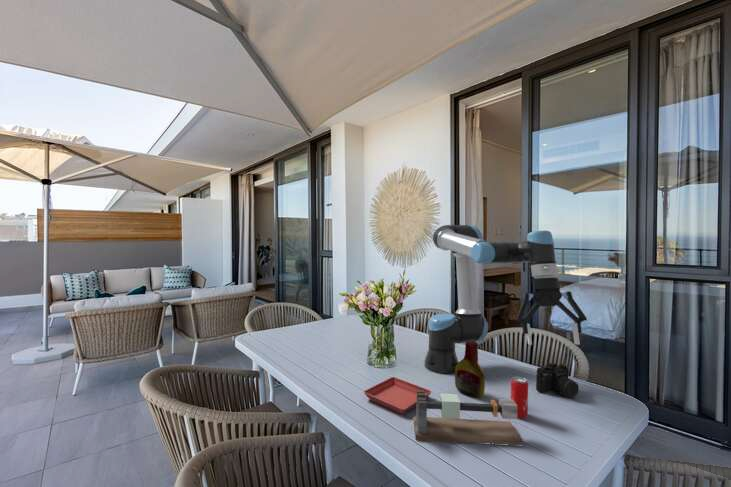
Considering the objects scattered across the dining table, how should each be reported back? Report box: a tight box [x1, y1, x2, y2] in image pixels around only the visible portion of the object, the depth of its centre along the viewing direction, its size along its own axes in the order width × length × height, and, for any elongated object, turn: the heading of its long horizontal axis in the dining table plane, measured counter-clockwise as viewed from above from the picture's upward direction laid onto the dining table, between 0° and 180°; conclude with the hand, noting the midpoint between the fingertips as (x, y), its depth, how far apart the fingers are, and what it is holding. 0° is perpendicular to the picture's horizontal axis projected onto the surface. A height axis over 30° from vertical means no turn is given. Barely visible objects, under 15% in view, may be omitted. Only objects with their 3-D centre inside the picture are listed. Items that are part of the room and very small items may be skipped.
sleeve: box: [439, 393, 461, 419], centre depth 102 cm, size 5×5×5 cm
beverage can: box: [510, 376, 529, 419], centre depth 112 cm, size 5×5×12 cm
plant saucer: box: [363, 376, 432, 414], centre depth 122 cm, size 18×18×3 cm
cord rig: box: [413, 390, 524, 446], centre depth 101 cm, size 10×30×10 cm, turn 85°
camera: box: [535, 362, 580, 399], centre depth 128 cm, size 14×11×10 cm
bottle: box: [454, 341, 486, 398], centre depth 127 cm, size 12×6×20 cm, turn 37°
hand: (553, 344), depth 108 cm, fingers open, 13 cm apart
